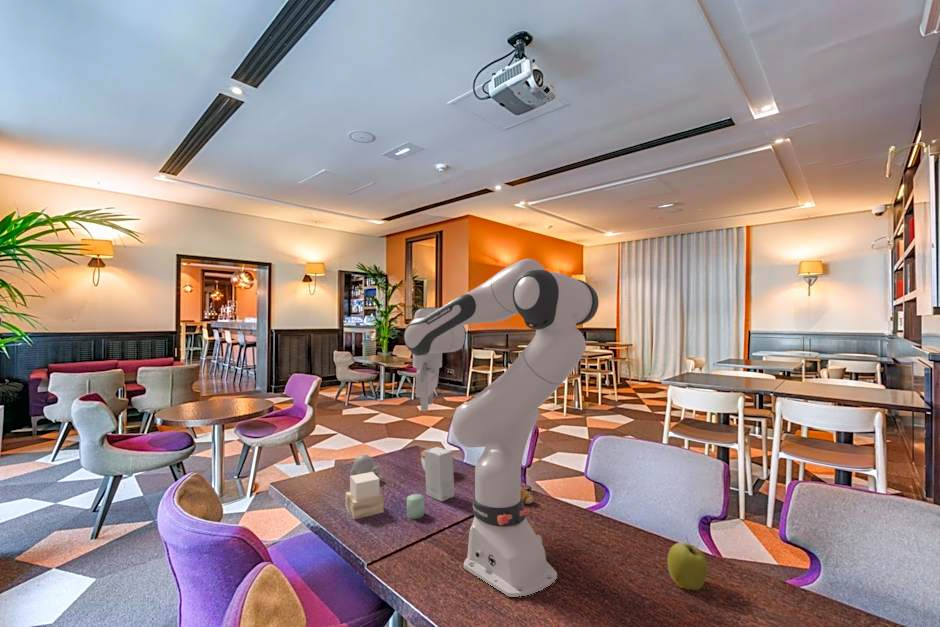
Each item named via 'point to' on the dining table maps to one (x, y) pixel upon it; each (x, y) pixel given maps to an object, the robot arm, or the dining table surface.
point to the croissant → (526, 496)
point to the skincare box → (439, 473)
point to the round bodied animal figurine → (365, 466)
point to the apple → (687, 566)
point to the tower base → (364, 505)
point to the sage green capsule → (415, 506)
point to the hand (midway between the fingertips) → (427, 407)
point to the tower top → (364, 486)
